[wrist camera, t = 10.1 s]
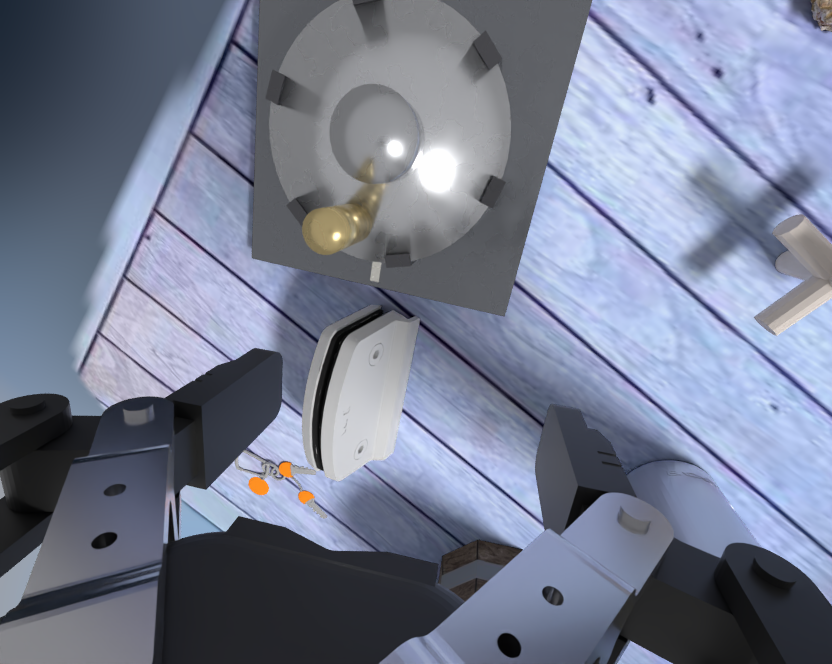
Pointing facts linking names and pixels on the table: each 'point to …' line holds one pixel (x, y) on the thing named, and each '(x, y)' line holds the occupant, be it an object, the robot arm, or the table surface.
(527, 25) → the base plate
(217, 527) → the table surface
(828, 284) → the pipe connector
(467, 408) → the table surface
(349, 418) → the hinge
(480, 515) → the table surface
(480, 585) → the mug
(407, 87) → the silver disc
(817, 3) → the mineral rock
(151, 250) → the table surface
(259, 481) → the key chain
